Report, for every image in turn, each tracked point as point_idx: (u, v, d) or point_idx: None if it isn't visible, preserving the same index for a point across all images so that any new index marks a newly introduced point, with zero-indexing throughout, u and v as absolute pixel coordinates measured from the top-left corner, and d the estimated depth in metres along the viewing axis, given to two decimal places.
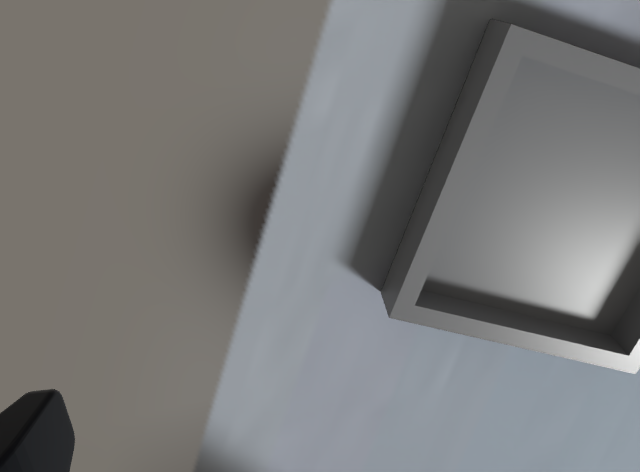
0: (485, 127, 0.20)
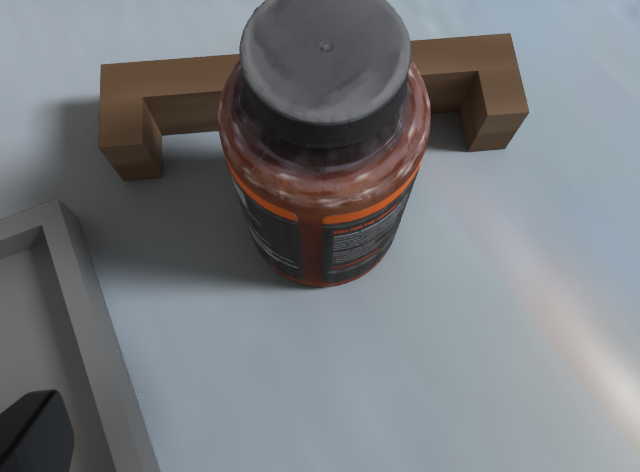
0: None
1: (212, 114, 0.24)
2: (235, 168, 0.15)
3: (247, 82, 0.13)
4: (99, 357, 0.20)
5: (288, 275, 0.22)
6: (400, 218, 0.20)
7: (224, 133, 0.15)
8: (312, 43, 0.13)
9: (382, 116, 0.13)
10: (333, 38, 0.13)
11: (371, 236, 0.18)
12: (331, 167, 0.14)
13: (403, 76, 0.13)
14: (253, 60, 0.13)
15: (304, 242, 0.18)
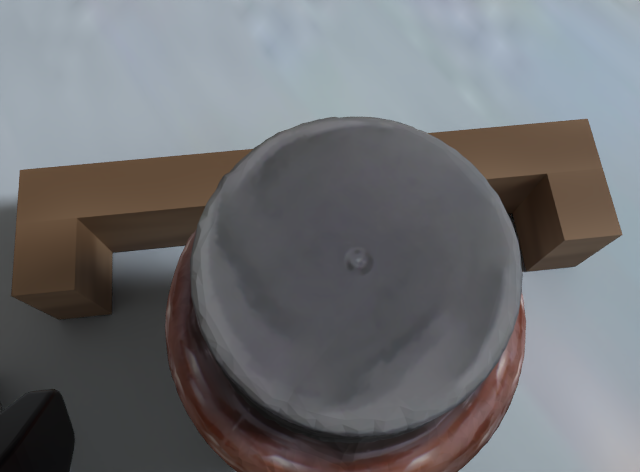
0: None
1: (179, 230, 0.17)
2: None
3: (204, 337, 0.07)
4: None
5: None
6: None
7: (174, 365, 0.09)
8: (331, 254, 0.07)
9: None
10: (371, 241, 0.07)
11: None
12: (365, 453, 0.08)
13: (513, 323, 0.07)
14: (216, 292, 0.07)
15: None
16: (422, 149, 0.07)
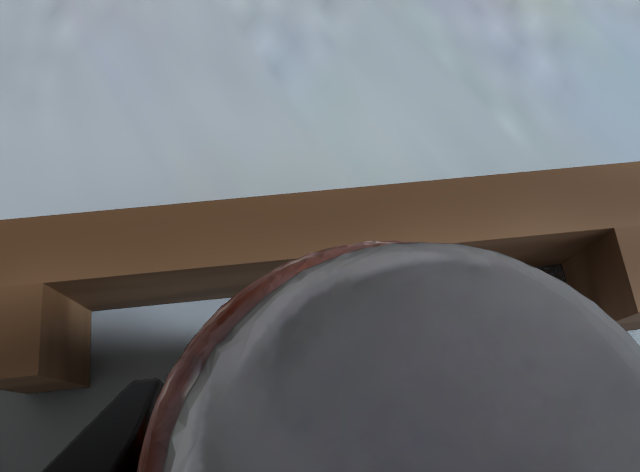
0: None
1: (169, 290, 0.15)
2: None
3: None
4: None
5: None
6: None
7: None
8: None
9: None
10: None
11: None
12: None
13: None
14: None
15: None
16: (542, 304, 0.04)
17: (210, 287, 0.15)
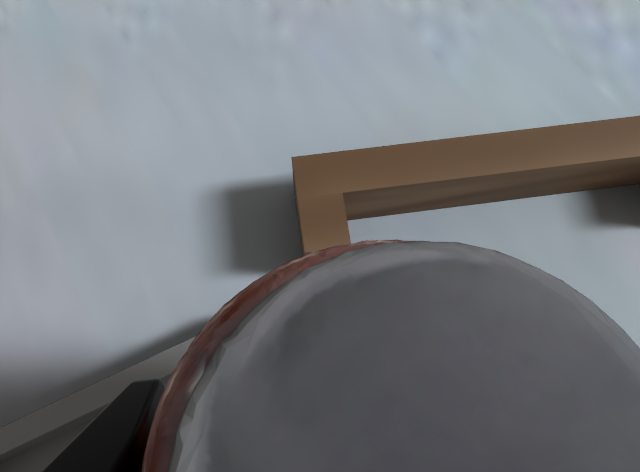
0: None
1: (402, 201, 0.22)
2: None
3: None
4: None
5: None
6: None
7: None
8: None
9: None
10: (465, 471, 0.04)
11: None
12: None
13: None
14: None
15: None
16: (538, 301, 0.05)
17: (428, 199, 0.22)
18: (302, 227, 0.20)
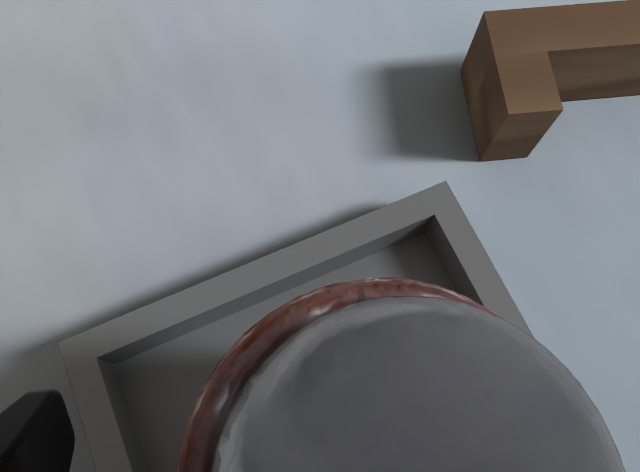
0: (119, 457, 0.15)
1: (599, 77, 0.19)
2: None
3: None
4: None
5: None
6: None
7: None
8: None
9: None
10: None
11: None
12: None
13: None
14: None
15: None
16: (501, 347, 0.06)
17: (628, 76, 0.19)
18: (503, 87, 0.17)
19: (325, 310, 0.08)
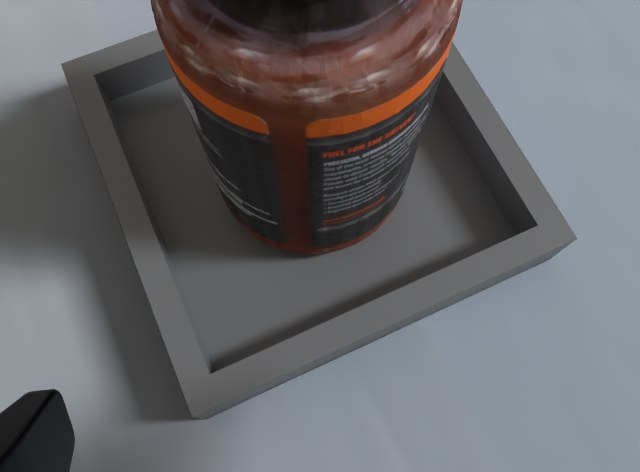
0: (113, 145, 0.17)
1: None
2: (173, 51, 0.10)
3: None
4: (477, 94, 0.18)
5: (266, 238, 0.17)
6: (414, 154, 0.15)
7: None
8: None
9: None
10: None
11: (376, 169, 0.13)
12: (316, 34, 0.09)
13: None
14: None
15: (282, 177, 0.12)
16: None
17: None
18: None
19: None
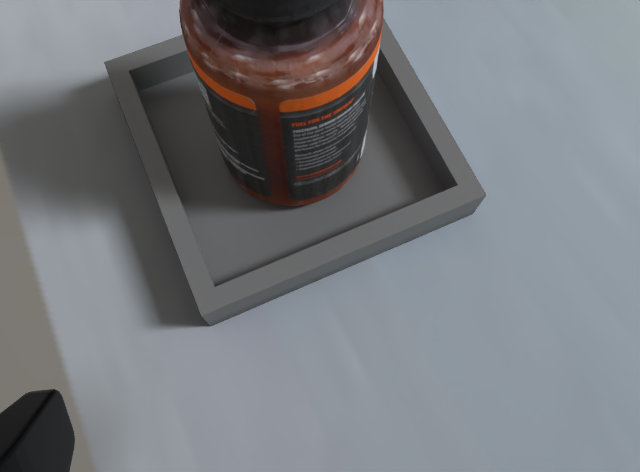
0: (143, 123, 0.23)
1: None
2: (195, 56, 0.16)
3: None
4: (418, 88, 0.24)
5: (257, 193, 0.23)
6: (362, 130, 0.21)
7: (184, 22, 0.16)
8: None
9: None
10: None
11: (331, 137, 0.19)
12: (284, 46, 0.15)
13: None
14: None
15: (266, 141, 0.18)
16: None
17: None
18: None
19: None
